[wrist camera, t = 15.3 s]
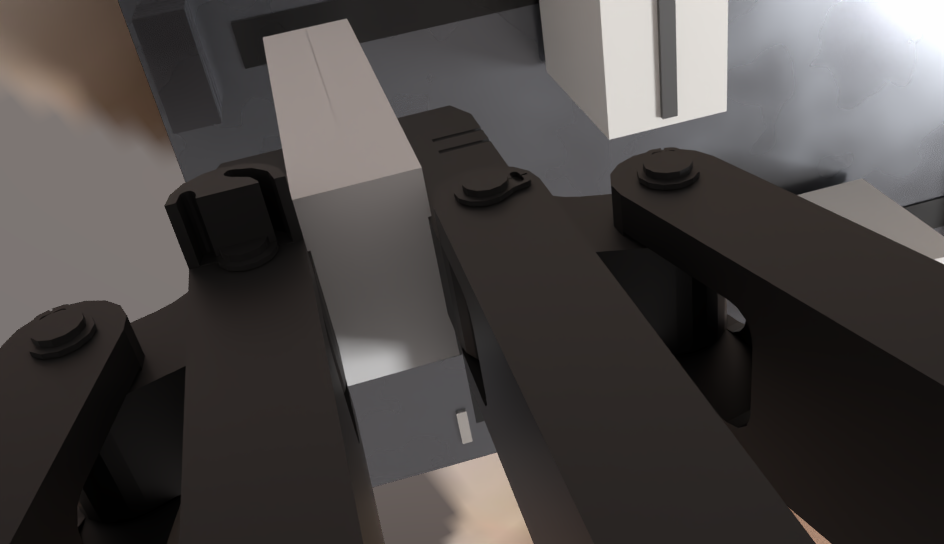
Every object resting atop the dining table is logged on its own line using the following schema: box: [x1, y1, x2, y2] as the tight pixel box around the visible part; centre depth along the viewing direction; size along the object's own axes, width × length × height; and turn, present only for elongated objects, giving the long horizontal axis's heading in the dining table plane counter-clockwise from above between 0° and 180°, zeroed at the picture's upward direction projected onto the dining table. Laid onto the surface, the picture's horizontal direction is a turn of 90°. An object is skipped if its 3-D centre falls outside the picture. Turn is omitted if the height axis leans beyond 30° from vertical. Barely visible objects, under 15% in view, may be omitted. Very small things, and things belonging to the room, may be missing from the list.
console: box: [118, 0, 944, 487], centre depth 22 cm, size 22×18×3 cm
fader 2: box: [798, 178, 944, 264], centre depth 23 cm, size 2×4×4 cm, turn 9°
